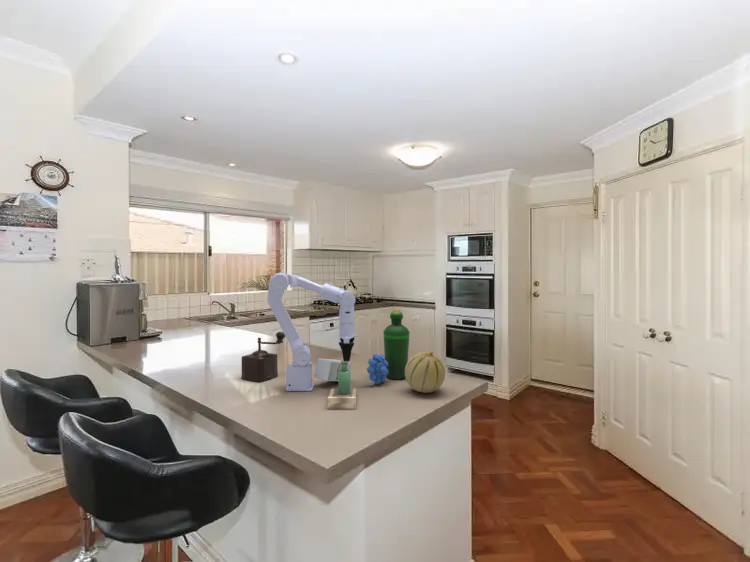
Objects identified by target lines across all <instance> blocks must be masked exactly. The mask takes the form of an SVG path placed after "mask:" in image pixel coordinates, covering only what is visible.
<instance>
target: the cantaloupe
mask: <svg viewBox="0 0 750 562" xmlns="http://www.w3.org/2000/svg"><path fill="white" fill-rule="evenodd" d="M445 378H446V368H445V364H444V362H443V361H442V359H441V357H439V356H438V355H437V354H435V353H434V351H427V350H425V351H424V350H423V351H418V352H415V353H414V354H412V355H411V356H410V357H409V358H408V362H407V364H406V367H405V378H404V379H405V380H406V382H407V384H408V386H409V387H411V388H412V389H413V390H414V391H416V392H418V393H422V394H428V393H430V394H431V393H433V392H435V391H437V390H438V389H440V387H442V385H443V383H444V381H445Z"/></svg>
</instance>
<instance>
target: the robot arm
mask: <svg viewBox="0 0 750 562" xmlns="http://www.w3.org/2000/svg"><path fill="white" fill-rule="evenodd" d="M289 285H290V286H289ZM288 287H289V288H296V287H299V288H302V289H306V290H309V291H311V292H314V293H318V294H319V297H320V299H323V300H327V301H329V302H332V303H335V304H338V303H339V311H338V313H339V314H338V319H339V320H338V321H339V325H338V326H339V331H338V333H339V334H338V338H339V340H340V341H338V345H339V347H340V350H341V353H342V358H343V360H342V361H348V362H351V361H350V360H351V355H352V350H353V347H354V346H355V342H354V341H355V337H358V334H357V333H355V303H356V297H355V294H354V293H352V292H350V291H349V290H346V289H345V288H343V287H341V288H340V287H337V286H335V285H333V283H331V282H329V283H326V282H325V283H324V284H319V283H316V282H314V281H311V280H310V279H307V278H304V277H301V276H300V275H295V274H292V273H291V274H290V273H286V272H278V273H274V275H273V276H272V277H271V279H270V281H269V283H268V290H267V298H266V300H267V303H268V305H269V307H270V309H271V312H272V314H273V315H274V317H275V320H276V321H277V323H278V325H279V326H280V329H281V330H282V331H281V332H283V333H284V334H285V338H286V340H287V342H288V344H289V346H290V349H291V352H292V355H293V356H292V357H293V358H292V359H293V361H292V364H291V363H290V364H287V366H286V371H285V384H286V385H285V391H286V392H288V391H289V392H292V391H293V392H295V391H296V392H299V391H300V392H302V391H304V392H305V391H307V392H309V391H310V392H311V391H313V389H314V386H315V383H314V382H313V362H312V361H311V359H312V355H311V353H312V351H311V348H310V347H309V345H307V343H305V341H304V340H303V338H302V337H301V335H300V333H299V332H298V330H297V327H296V326H295V323H294V321H293V320H292V318H291V316H290V314H289V312H288V311H287V308H286V306H285V304H284V303H283V300H282V298H283V296H284V293H285V291H286V290H287V289H288Z"/></svg>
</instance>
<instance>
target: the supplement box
mask: <svg viewBox="0 0 750 562" xmlns="http://www.w3.org/2000/svg"><path fill="white" fill-rule="evenodd" d="M341 361H342V360H339V359H332V358H329V359H328V358H320V357H318V358H317V361H316V365H315V371H314V375H313V377H314V378H316V379H320V380H323V381H327V382H338V371H339V370H341ZM352 365H353V364H352V363H350V362H348V370H351V368H352Z"/></svg>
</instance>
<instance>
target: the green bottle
mask: <svg viewBox="0 0 750 562" xmlns="http://www.w3.org/2000/svg"><path fill="white" fill-rule="evenodd" d="M340 361H341V370H339V371H338V381H337V382H338V383H337V384H338V385H337V386H338V388H337V389H338V390H337V391H338V392H337V393H338V395H342V396H347V395H351V394H352V393H351V392H352V391H351V388H352V386H351V385H352V384H351V383H352V381H351V379H352V378H351V377H352V374H351V373H352V371H351V369H350V370H348V363H349V361H344V360H340Z"/></svg>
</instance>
